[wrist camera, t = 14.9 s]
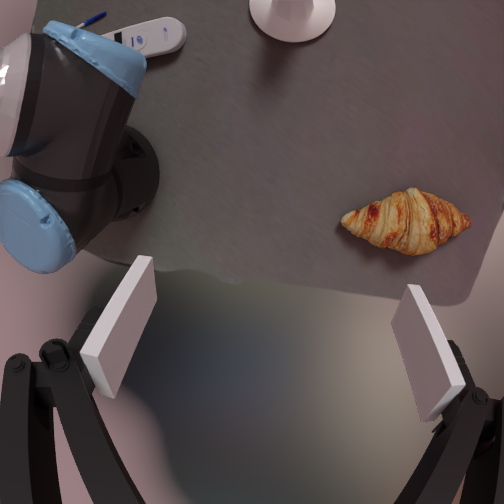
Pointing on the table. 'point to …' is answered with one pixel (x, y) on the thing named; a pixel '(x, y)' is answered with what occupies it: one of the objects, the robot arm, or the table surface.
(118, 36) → the electronic device
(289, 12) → the pepper shaker
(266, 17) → the saucer
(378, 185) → the table surface
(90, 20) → the ballpoint pen
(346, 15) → the table surface
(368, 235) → the croissant
